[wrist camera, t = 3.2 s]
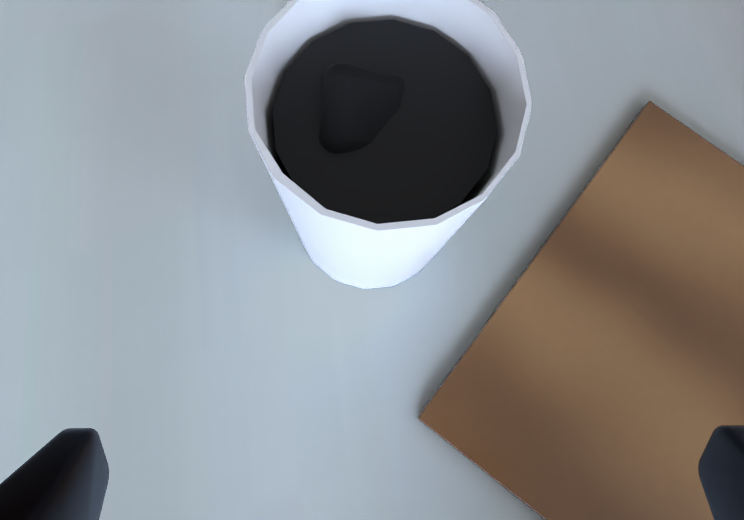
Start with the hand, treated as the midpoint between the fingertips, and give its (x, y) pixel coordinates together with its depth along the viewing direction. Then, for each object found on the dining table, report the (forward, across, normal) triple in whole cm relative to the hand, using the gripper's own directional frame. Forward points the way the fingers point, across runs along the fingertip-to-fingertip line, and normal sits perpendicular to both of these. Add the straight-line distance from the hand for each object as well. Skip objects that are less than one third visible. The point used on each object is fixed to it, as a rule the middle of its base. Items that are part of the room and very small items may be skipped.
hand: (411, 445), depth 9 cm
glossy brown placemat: (+10, -14, +10) cm, 20 cm away
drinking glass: (+15, 0, +4) cm, 16 cm away
